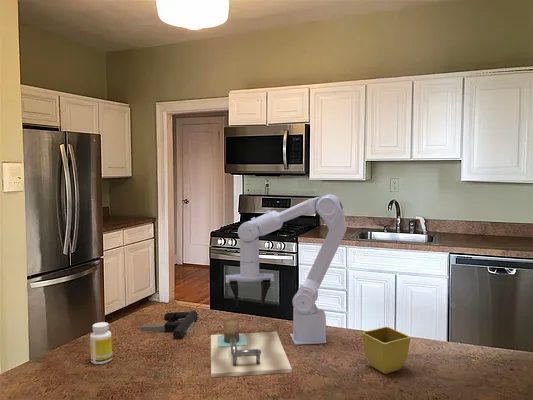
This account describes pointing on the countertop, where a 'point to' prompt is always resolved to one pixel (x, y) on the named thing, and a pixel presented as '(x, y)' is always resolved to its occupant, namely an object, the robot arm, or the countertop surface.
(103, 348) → the supplement bottle
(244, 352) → the bent wire
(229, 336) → the walnut cylinder
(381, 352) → the flower pot
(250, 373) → the birch board
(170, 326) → the door handle
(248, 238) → the robot arm
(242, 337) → the pad
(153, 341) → the countertop surface
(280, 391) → the countertop surface
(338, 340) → the countertop surface
